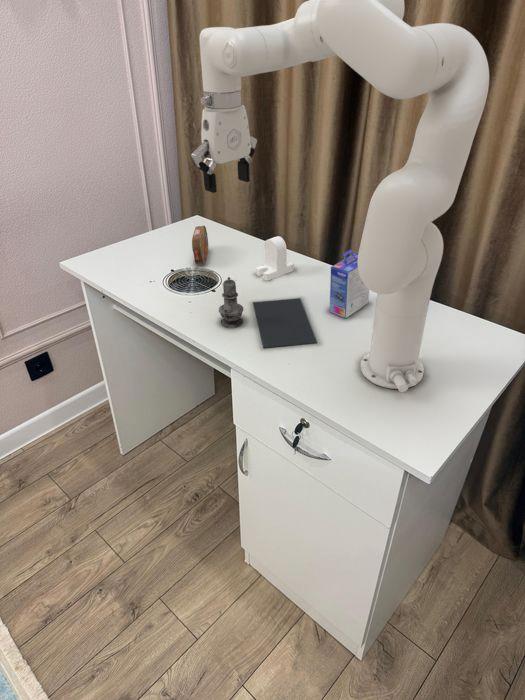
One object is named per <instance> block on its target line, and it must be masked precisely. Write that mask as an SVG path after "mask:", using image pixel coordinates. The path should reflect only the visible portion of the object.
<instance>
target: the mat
mask: <svg viewBox="0 0 525 700" xmlns="http://www.w3.org/2000/svg"><path fill="white" fill-rule="evenodd" d="M252 305H253V309H254V313H255V318H256V322H257V327H258V331H259V334H260V339H261V344H262V348H263V349H272V348H281V347H282V348H283V347H293V346H303V345H313V344H314V345H315V344H317V343H318V341H317V338H316V335H315V333H314V331H313V327H312V326H311V323H310V320H309V317H308V316H307V313H306V310H305V308H304V304H303V302H302V300H301V298H300V297H299V298H297V297H296V298H286V299H277V300H276V299H275V300H264V301H263V300H261V301H253V302H252Z"/></svg>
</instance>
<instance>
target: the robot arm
mask: <svg viewBox="0 0 525 700" xmlns="http://www.w3.org/2000/svg"><path fill="white" fill-rule="evenodd" d="M404 17H405V0H306V1H304V2H303V3H302V4H300V5H299V7H298V8H297V10H296V13H295V16H294V17H292V18H290V19H288V20H284V21H281V22H277V23H274V24H269V25H268V24H267V25H257V26H248V27H241V28H240V27H238V28H234V27H230V26H213V27H205V28H203V29H202V30H201V31H200V33H199V37H198V38H199V52H200V53H199V54H200V65H201V77H202V78H201V79H202V91H203V97H200V105H202V106H204V108H203V109H202V114H201V131H200V133H201V134H200V135H201V136H200V137H201V144H200V145H199V146H198V147H196V149H195V150H193V151H192V153H191V158H192V160H193V162H194V164H195V166H196V167H197V168H198V169H199V170H200V172H201V173H202V174H203V186H204V190H205V191H207V192H208V193H212V194H215V193H217V177H216V173H215V172H214V171H215V169H216V167H217V164H220V165H221V164H226V163H229V162H233V161H237V179H238V180H239V181H242V182H245V183H250V181H251V176H250V164H251V163H252V159H253V156H254V154H255V153H256V152H255V149H256V147H257V143H258V139H257V138H255V137H254V136H252V135H250V133H251V132H250V124H249V118H248V113H247V110H246V106H245V105H243V100H242V99H243V98H242V78H243V77H249V76H254V75H259V74H264V73H271V72H276V71H280V70H284V69H287V68H291V67H295V66H298V65H302V64H305V63H308V62H309V63H310V62H311V63H315V62H317V61H321V60H325V59H329V58H332V57H335V56H337V57H339V58H340V59H341V60H342V61H343V62H344V63H345V64H346V65H348V66H349V67H350V68H351V69H352V70H353V71H354V72H356V73H357V74H358V75H359V76H360V77H362V78H363V79H364V80H365V81H366V82H368V83H369V84H370V85H371V86H372V87H373V88H375V89H376V90H377V91H378V92H380V93H382V94H383V95H385V96H387V97H389V98H391V99H394V100H395V99H396V100H409V99H414V98H416V97H419V96H423V95H425V94H429V97H428V101H427V104H426V107H425V108H424V111H423V113H422V115H421V117H420V119H419V121H418V124H417V127H416V129H415V133H414V138H413V142H412V146H411V149H410V153H409V155H408V158H407V161H406V163H405V165H404V166H403V167H401V168H400V169H398V170H395V171H393V172H391V173H390V174H388V175H387V176H385V177H384V178H383V179H382V180H381V182H379V184H378V185H377V187H376V188H375V190H374V191H373V194H372V195H371V197H370V198H371V199H370V202H369V206H368V209H367V211H366V212H367V213H366V218H365V222H364V226H363V229H362V235H361V240H360V244H359V249H358V253H357V254H358V262H357V263H358V272H359V275H360V278H361V280H362V282H363V283H364V285H365V286H366V287H367V288H368V289H369V291H371V292H372V293H375V294H376V301H375V309H374V316H373V324H372V333H371V341H370V350H369V352H367V353H365V355H364V356H363V357H362V359H361V361H360V371H361V373H362V374H363V377H365V378H366V379H367V380H368V381H370V383H372V384H374V385H377V386H379V387H382V388H387V389H394V390H398V392H400V393H405V392H407V391H408V390H409V388H411V387H414V386H416V385H417V384H419V383H420V382H421V381H422V380H423V378H424V373H425V366H424V365H423V363H422V361H421V360H420V359H419V357H420V352H421V347H422V342H423V336H424V331H425V325H426V321H427V317H428V316H427V315H428V311H429V306H430V300H431V297H432V291H433V287H434V284H435V280H436V277H437V274H438V273H439V272H438V271H439V269H440V266H441V262H442V259H443V254H444V238H443V235H442V233H441V231H440V229H439V228H438V227H437V225H436V224H434V223H433V222H434V221H435V220H437V219H438V218H440V217H441V216H442V215H444V214H445V213H446V212H447V211H448V210H449V209H450V208H451V207H452V205H453V203H454V202H455V199H456V195H457V193H458V189H459V186H460V183H461V180H462V178H463V177H462V176H463V173H464V171H465V168H466V165H467V162H468V160H469V159H468V158H469V155H470V153H471V149H472V146H473V141H474V139H475V136H476V133H477V130H478V127H479V124H480V121H481V119H482V116H483V112H484V110H485V106H486V102H487V98H488V94H489V89H490V88H489V87H490V67H489V62H488V59H487V55H486V53H485V50H484V48H483V46H482V45H481V43H480V42H479V40H478V39H477V38H476V37H475V36H474V35H473V34H472V33H471V32H470V31H468V30H467V29H465V28H464V27H462V26H459V25H457V24H453V23H447V22H439V23H428V24H423V25H418V26H417V25H416V26H411V25H410V24H408V23H407V22H405V21H404V20H403V19H404ZM202 157H203V158H202ZM203 159H204V160H203Z"/></svg>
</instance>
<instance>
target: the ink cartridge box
mask: <svg viewBox="0 0 525 700" xmlns="http://www.w3.org/2000/svg"><path fill="white" fill-rule="evenodd" d="M348 255H349V256H348ZM342 257H343V259H342V260H340V261H339V262H337V263H336V264H334V265H332V266H330V279H329V280H330V286H329V288H330V289H329V312H330V313H332V314H334V315H336V316H338V317H341V318H343V319H347V318H348V317H350V316H351V315H354V313H356V312H358V311H359V310H360V309H362V308H363V307H365V306H366V305H368V304H369V298H370V290H369V289H368V288H367V287H366V286H365V285H364V283H363V282H362V280H361V278H360V275H359V272H358V263H357V262H358V253H354V251H353V249H352V248H350V249H349V250H346V251H344V252H343V253H342Z"/></svg>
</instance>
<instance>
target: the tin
mask: <svg viewBox="0 0 525 700" xmlns="http://www.w3.org/2000/svg"><path fill="white" fill-rule="evenodd" d="M191 249H192V253H193V258H194V263H195V265H206V263H207V259H208V254H209V238H208V232H207V227H206V226H205V225H197V226H195V228H194V231H193V235H192V238H191Z"/></svg>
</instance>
